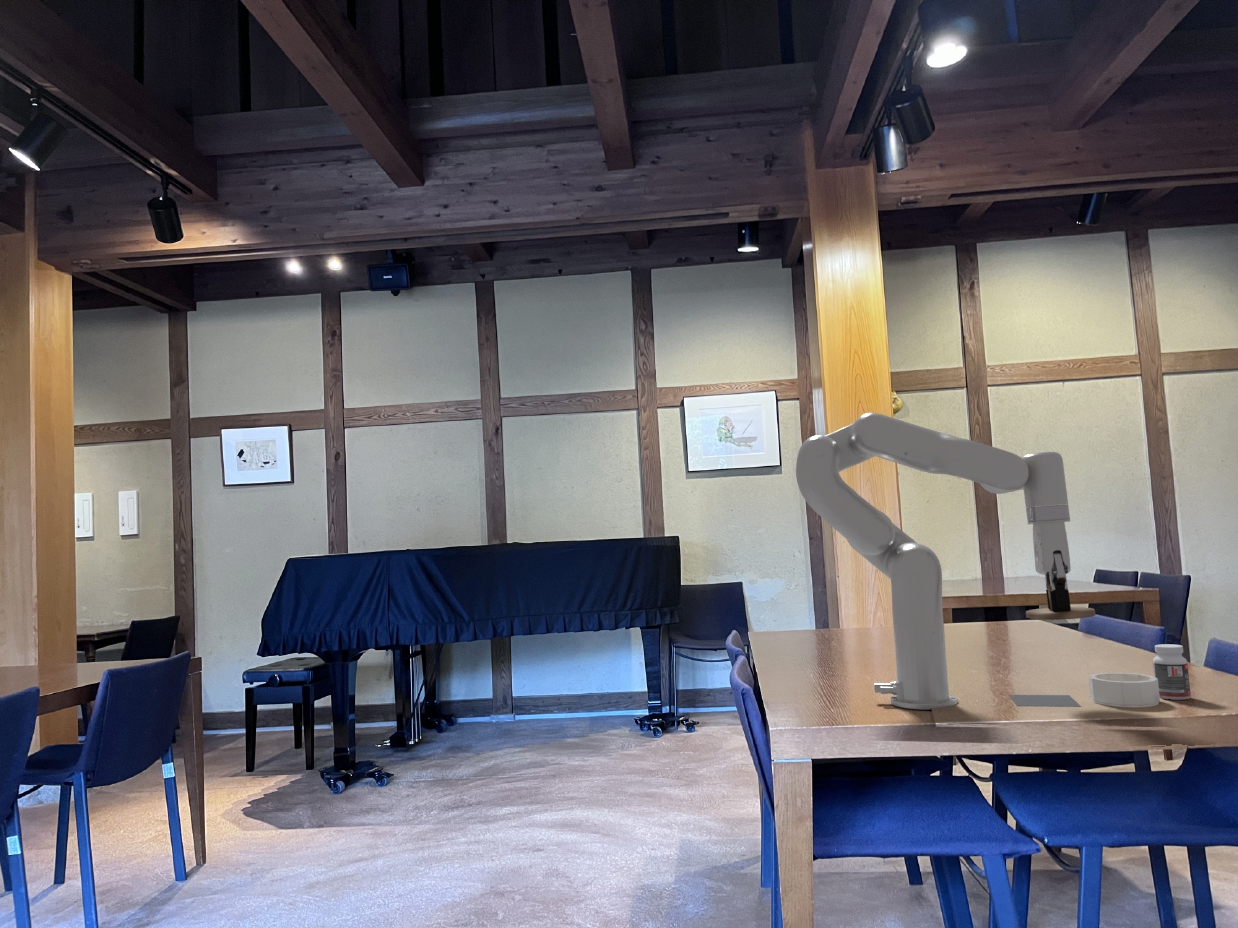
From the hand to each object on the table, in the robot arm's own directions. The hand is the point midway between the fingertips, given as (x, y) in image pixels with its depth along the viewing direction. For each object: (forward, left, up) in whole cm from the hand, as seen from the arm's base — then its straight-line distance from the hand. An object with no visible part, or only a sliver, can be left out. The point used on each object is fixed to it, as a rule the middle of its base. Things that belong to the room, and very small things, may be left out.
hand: (1059, 609), depth 170 cm
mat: (-4, 0, -18) cm, 18 cm away
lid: (0, 0, -1) cm, 1 cm away
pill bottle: (+20, +7, -18) cm, 28 cm away
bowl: (+10, 0, -18) cm, 20 cm away
